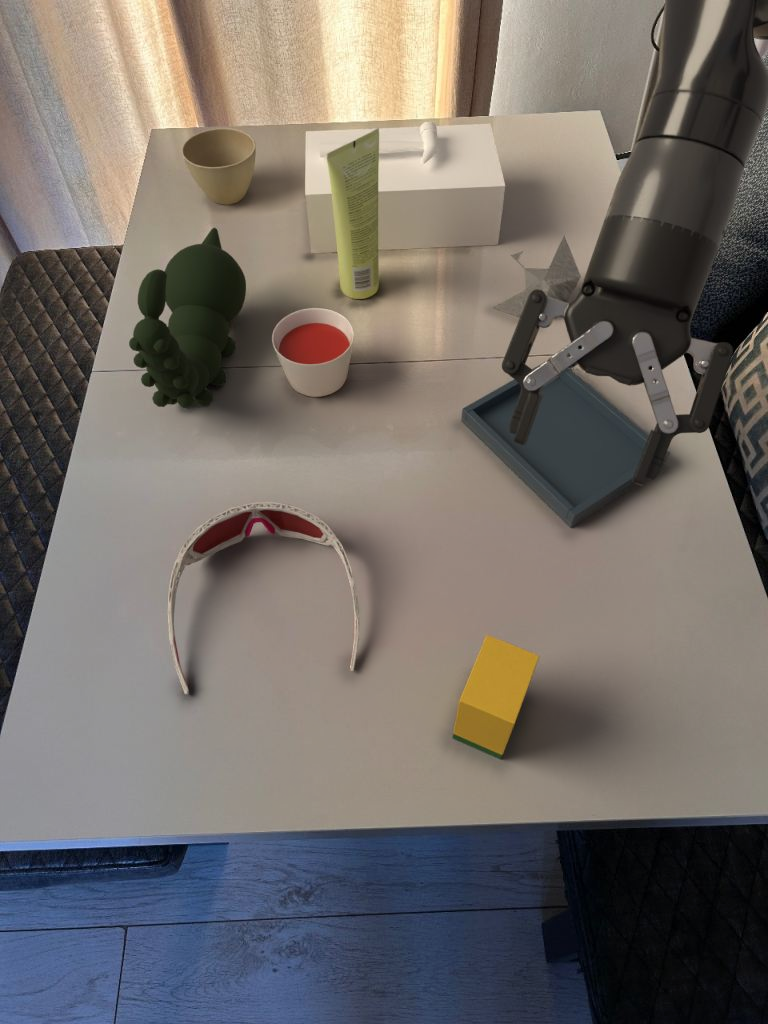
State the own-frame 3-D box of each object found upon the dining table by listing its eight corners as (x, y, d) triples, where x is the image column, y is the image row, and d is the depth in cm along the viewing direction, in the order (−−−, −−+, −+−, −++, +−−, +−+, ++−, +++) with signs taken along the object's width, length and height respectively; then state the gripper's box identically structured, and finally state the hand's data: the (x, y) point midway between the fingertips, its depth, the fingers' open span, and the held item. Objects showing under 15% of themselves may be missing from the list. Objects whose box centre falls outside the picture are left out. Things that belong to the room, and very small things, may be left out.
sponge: (524, 697, 67) (539, 655, 60) (500, 759, 64) (514, 724, 57) (476, 677, 68) (486, 634, 61) (452, 738, 65) (459, 700, 58)
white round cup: (316, 417, 86) (311, 377, 80) (263, 377, 89) (255, 337, 84) (372, 375, 89) (370, 334, 84) (319, 338, 93) (314, 297, 88)
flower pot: (258, 215, 107) (250, 168, 101) (187, 215, 107) (175, 167, 101) (266, 174, 112) (259, 126, 107) (199, 174, 113) (188, 126, 107)
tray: (664, 465, 81) (670, 453, 80) (570, 528, 77) (574, 516, 75) (551, 369, 89) (554, 356, 88) (460, 421, 85) (462, 408, 83)
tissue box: (497, 244, 103) (507, 168, 93) (311, 253, 102) (303, 177, 93) (484, 182, 111) (492, 106, 102) (311, 189, 110) (304, 114, 101)
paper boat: (525, 335, 91) (472, 283, 93) (529, 346, 97) (479, 298, 99) (601, 259, 89) (545, 208, 91) (600, 276, 95) (548, 228, 97)
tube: (343, 271, 100) (333, 124, 84) (382, 273, 100) (379, 126, 83) (337, 300, 97) (326, 153, 81) (377, 302, 96) (374, 155, 80)
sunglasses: (345, 512, 78) (343, 491, 73) (367, 676, 71) (366, 664, 67) (174, 533, 77) (161, 513, 72) (180, 703, 70) (166, 692, 65)
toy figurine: (227, 443, 86) (264, 282, 98) (185, 326, 69) (236, 149, 81) (146, 438, 86) (193, 278, 99) (85, 320, 70) (150, 145, 82)
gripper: (552, 189, 48) (472, 433, 52) (785, 246, 45) (682, 504, 49) (561, 216, 55) (491, 429, 59) (764, 267, 52) (675, 490, 56)
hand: (577, 463), depth 54 cm, fingers open, 8 cm apart
